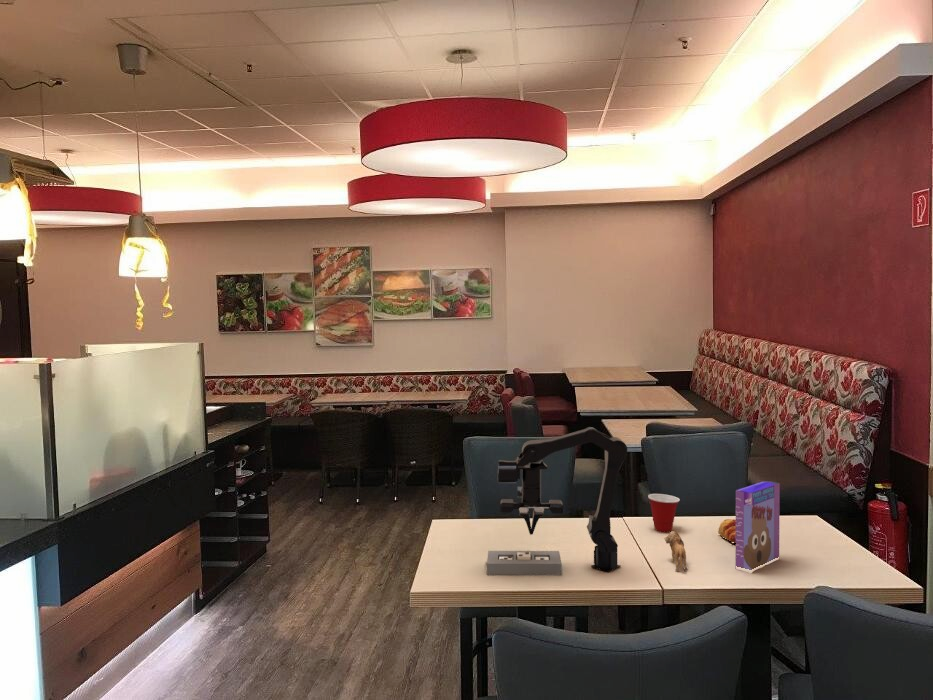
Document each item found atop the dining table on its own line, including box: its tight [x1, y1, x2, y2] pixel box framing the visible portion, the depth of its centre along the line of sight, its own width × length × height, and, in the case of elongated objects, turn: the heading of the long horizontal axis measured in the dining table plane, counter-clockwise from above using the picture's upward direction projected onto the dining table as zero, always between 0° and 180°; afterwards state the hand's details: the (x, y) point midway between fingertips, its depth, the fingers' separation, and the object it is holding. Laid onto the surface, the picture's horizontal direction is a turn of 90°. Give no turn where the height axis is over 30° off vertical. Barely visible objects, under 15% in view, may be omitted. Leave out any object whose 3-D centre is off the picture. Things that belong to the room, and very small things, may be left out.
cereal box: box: [735, 480, 781, 570], centre depth 231 cm, size 17×5×24 cm, turn 131°
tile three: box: [499, 556, 512, 560], centre depth 232 cm, size 4×4×2 cm
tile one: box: [535, 557, 549, 560], centre depth 231 cm, size 4×4×2 cm
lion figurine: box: [663, 530, 688, 573], centre depth 231 cm, size 15×5×9 cm, turn 2°
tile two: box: [517, 552, 531, 560], centre depth 232 cm, size 4×4×2 cm
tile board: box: [486, 550, 563, 576], centre depth 232 cm, size 22×12×3 cm, turn 86°
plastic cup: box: [647, 493, 681, 533], centre depth 268 cm, size 11×11×12 cm
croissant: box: [717, 518, 736, 544], centre depth 259 cm, size 21×10×8 cm, turn 169°
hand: (531, 534), depth 231 cm, fingers closed
